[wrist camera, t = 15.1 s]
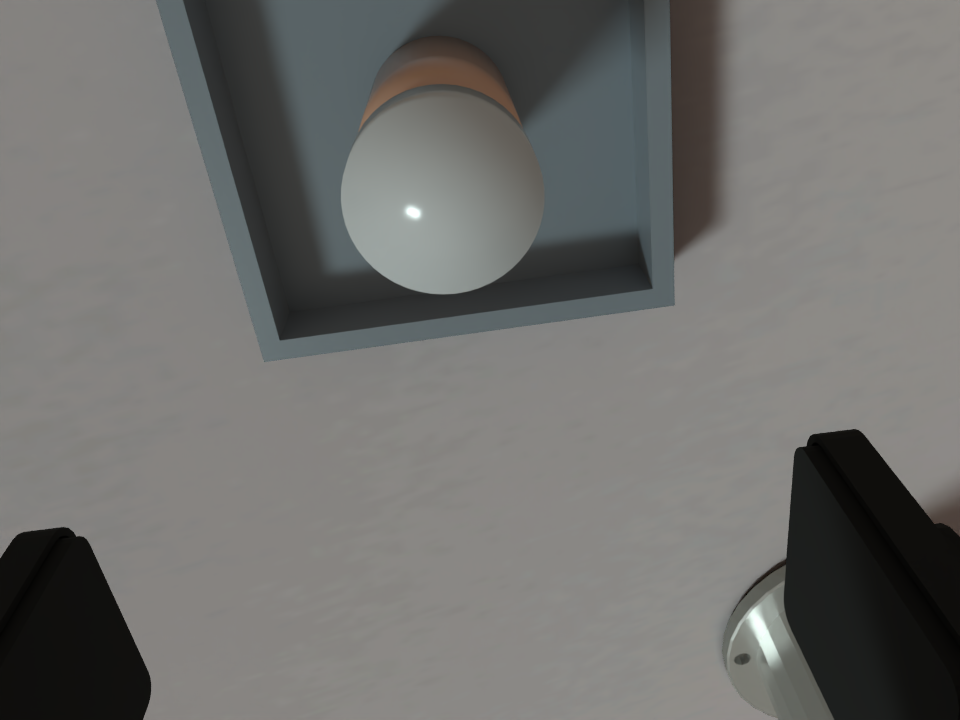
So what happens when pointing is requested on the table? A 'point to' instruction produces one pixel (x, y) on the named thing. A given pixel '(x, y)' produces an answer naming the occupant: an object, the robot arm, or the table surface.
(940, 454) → the table surface
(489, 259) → the shaker
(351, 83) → the slate tray
